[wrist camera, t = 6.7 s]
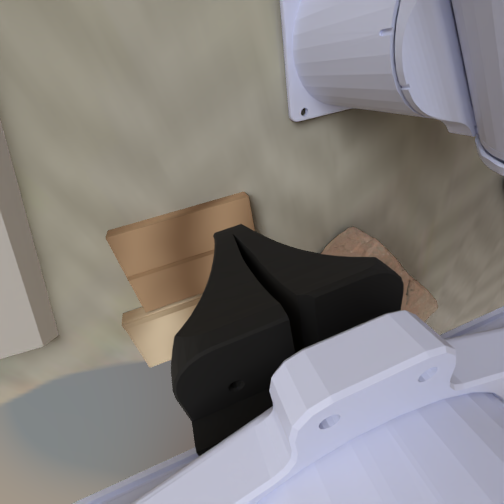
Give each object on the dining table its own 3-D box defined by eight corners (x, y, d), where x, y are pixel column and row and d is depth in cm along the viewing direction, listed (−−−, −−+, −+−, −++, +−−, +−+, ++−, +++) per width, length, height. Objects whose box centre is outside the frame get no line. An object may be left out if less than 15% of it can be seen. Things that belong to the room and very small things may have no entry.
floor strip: (268, 263, 25) (274, 272, 24) (276, 309, 29) (281, 318, 27) (122, 313, 23) (121, 325, 22) (149, 357, 26) (149, 369, 25)
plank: (243, 191, 21) (248, 196, 20) (258, 264, 25) (262, 272, 24) (107, 230, 19) (105, 238, 18) (145, 302, 23) (145, 313, 22)
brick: (415, 284, 35) (448, 309, 31) (367, 330, 37) (392, 358, 33) (344, 216, 26) (379, 239, 22) (285, 282, 28) (308, 314, 24)
